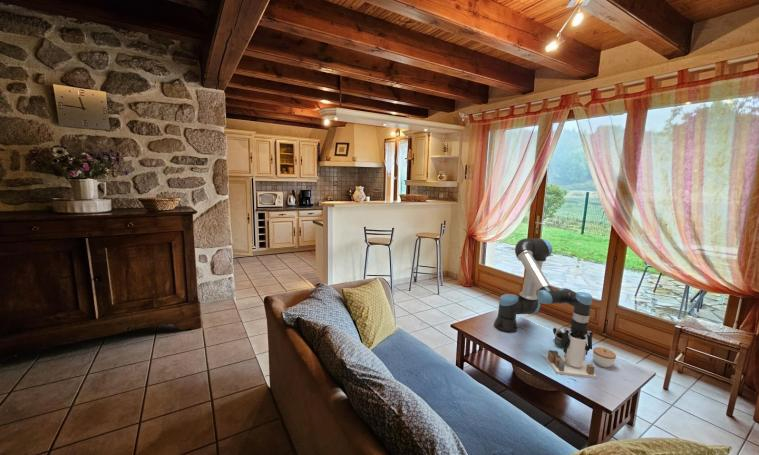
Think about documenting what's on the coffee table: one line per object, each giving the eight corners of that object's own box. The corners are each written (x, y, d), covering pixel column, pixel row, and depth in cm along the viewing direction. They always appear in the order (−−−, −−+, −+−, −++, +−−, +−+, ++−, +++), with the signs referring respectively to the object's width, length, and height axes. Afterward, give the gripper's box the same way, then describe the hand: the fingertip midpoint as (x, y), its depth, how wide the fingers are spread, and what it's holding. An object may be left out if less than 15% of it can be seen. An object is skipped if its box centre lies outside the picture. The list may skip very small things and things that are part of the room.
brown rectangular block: (562, 367, 175) (563, 360, 174) (556, 367, 176) (557, 359, 175) (555, 358, 184) (556, 351, 184) (549, 357, 185) (551, 350, 184)
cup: (584, 368, 174) (589, 340, 171) (568, 365, 176) (572, 338, 173) (578, 359, 182) (582, 333, 179) (562, 357, 184) (566, 331, 181)
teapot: (563, 351, 196) (566, 336, 194) (545, 341, 207) (547, 327, 205) (574, 348, 200) (576, 333, 198) (556, 339, 211) (558, 324, 209)
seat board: (544, 356, 189) (545, 346, 188) (580, 360, 187) (582, 350, 186) (556, 374, 172) (558, 363, 171) (596, 378, 170) (598, 367, 169)
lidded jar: (587, 361, 186) (589, 346, 185) (599, 357, 191) (601, 343, 189) (606, 371, 177) (608, 356, 175) (618, 367, 181) (621, 352, 180)
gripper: (562, 321, 172) (556, 360, 176) (604, 325, 170) (597, 365, 173) (557, 315, 180) (551, 353, 183) (597, 319, 177) (590, 357, 181)
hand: (574, 358), depth 178 cm, fingers closed on cup, 8 cm apart
